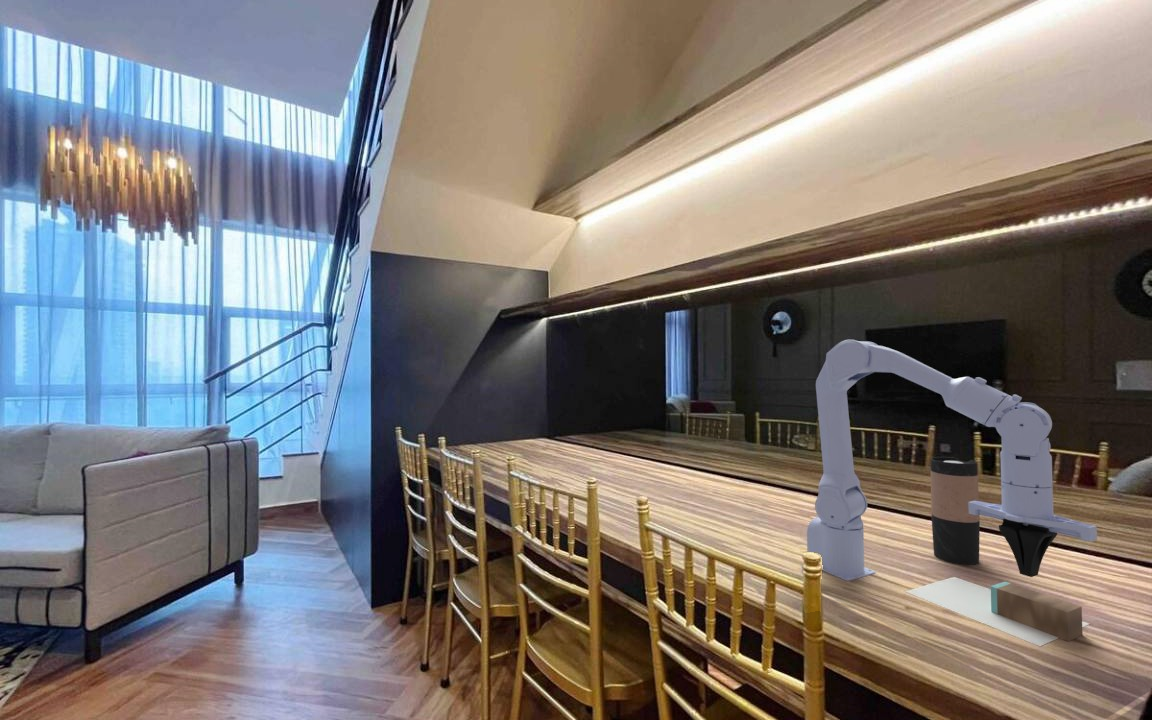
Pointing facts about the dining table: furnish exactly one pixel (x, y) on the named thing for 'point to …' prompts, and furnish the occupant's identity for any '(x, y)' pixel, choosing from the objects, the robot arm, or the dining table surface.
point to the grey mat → (977, 607)
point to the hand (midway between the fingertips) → (1028, 574)
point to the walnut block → (1037, 610)
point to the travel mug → (954, 510)
